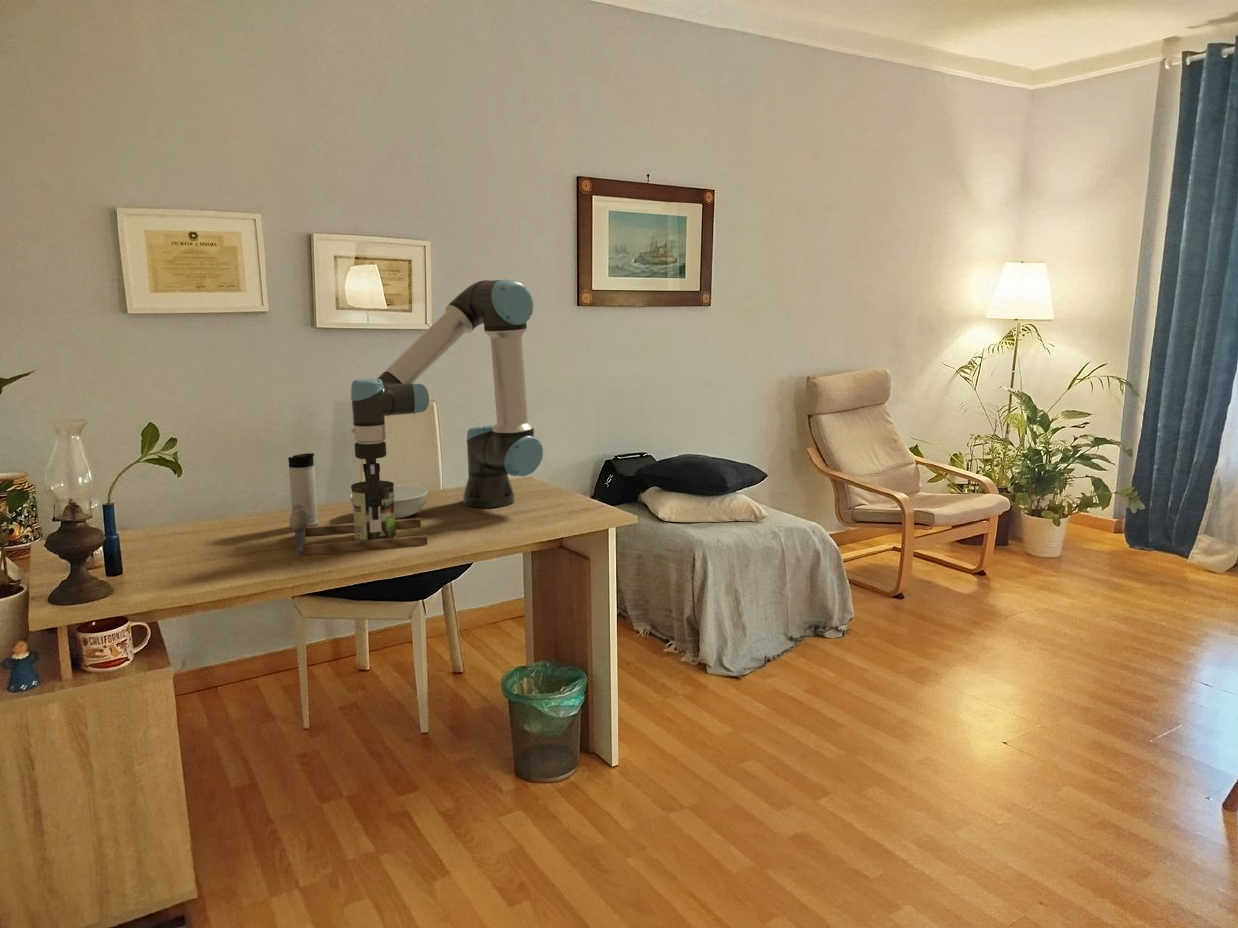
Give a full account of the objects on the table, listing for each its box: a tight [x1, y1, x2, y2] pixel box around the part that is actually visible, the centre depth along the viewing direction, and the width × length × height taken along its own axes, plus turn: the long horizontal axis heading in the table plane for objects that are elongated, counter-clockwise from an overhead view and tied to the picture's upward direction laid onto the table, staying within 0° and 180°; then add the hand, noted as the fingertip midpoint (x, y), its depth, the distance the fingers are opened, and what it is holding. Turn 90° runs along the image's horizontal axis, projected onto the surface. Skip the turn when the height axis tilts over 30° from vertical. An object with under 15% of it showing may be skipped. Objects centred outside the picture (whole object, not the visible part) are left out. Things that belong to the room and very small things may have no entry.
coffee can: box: [350, 480, 397, 541], centre depth 215 cm, size 10×10×14 cm
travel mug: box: [287, 452, 319, 527], centre depth 225 cm, size 6×7×20 cm
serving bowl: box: [349, 484, 429, 520], centre depth 238 cm, size 21×21×7 cm
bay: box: [289, 504, 428, 557], centre depth 214 cm, size 32×19×9 cm, turn 108°
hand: (374, 525), depth 216 cm, fingers open, 12 cm apart
